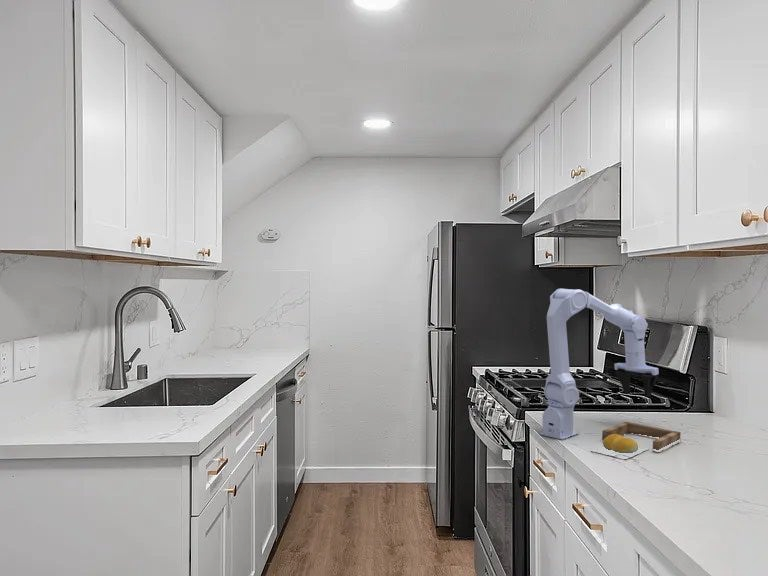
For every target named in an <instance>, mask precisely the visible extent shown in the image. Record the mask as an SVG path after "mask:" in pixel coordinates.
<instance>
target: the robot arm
mask: <svg viewBox="0 0 768 576" xmlns="http://www.w3.org/2000/svg"><path fill="white" fill-rule="evenodd" d="M549 303H550V304H549V307H548V310H547V314H546V326H547V340H548V341H547V342H548V352H549V365H550V374H549V375H548V376H547V377H545V386H544V388H543V389H544V390H543V391H544V396H545V398H546V399H547V403H548V406H547V408H546V409H545V410H543V413H542V430H541V431H540V432H539V435H542V436H545V437H550V438H554V439H559V440H562V441H564V440H566V439H568V437H569V438H571V437H570V436H572V437H574V436H573V435H575V436H577V435H579V434H580V433H579V432H577V431H574V408H575V405H576V404H577V403H578V401H579V399H580V392H579V389H578V387H577V385H576V380H575V378H574V377H573V376H572V374H571V370H570V369H571V368H570V357H569V346H568V332H567V321H568V320H569V319H570V318H571V317H572V316H575V314H578V313H579V312H581V311H582V310H583V309H585V308H588V309H590V310H592V311H594V312H597V313H599V314H601V315H603V316H604V317H603V318H604V319H605V321H607V322H609V323H611V324H613V325H615V326H617V327H619V328H620V330H621V331H622V332H623V336H624V337H623V338H624V352H625V362H617V363H614V370H616V371H615V372H614V373H615V375H616V377H617V379H618V381H619V382H620V385H621V387H622V390H623V393H624V394H628V393H631V375H632V372H633V373H641V374H642V375H640V377H641V380H642V384H643V390H644V397H645V398H649V397H652V392H653V388H654V385H655V383H656V380H657V379H658V377H659V367H654V366H651V365H647V364H646V350H645V337H646V331H647V329H648V324H649V323H648V322H647V321H646V319H645V317H644V316H643V315H642V314H641V315H640V314H634V311H633V310H631V309H629V310H627V309H625V308H624V307H622V306H623V305H622V304H620V303H612V304H610V305H609V304H608V303H606V302H605V301H603V300H601V299H599V298H597V297H596V296H594V295H592V294H590V292H588V291H584V290H582V289H577V288H576V289H573V288H572V289H570V288H569V289H568V288H561V287H560V288H557V289H556V290H555V291H554V292H552V294H551V295H550V296H549ZM576 434H577V435H576ZM565 438H566V439H565Z"/></svg>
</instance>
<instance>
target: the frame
mask: <svg viewBox="0 0 768 576" xmlns="http://www.w3.org/2000/svg"><path fill="white" fill-rule="evenodd" d="M601 433H602V434H601V435H602V436H601V441H602V440H604V439H605V438H606V437H607V436H609V435H611V434H618V435H621V436H622V435H623V436H625V435H624V434H626V435H628V434H629V433H633V434H632V435H634V434H641V435H647V436H652V437H659V439H654V440H652V450H653V449H656V450H659V449H661V448H663V447H665V446H667V445H669V444H671V443H673V442H675V441H677V440H679V439H680V440H681V431H678V430H672V429H671V430H670V429H665V428H660V427H655V426H650V425H645V424H639V423H635V422H628V421H624V422H622V423H619V424H616V425H613V426H611V427H609V428H608V427H607V428H605V429H603V430H602V431H601ZM627 433H628V434H627Z"/></svg>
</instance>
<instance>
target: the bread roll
mask: <svg viewBox="0 0 768 576" xmlns="http://www.w3.org/2000/svg"><path fill="white" fill-rule="evenodd" d="M602 446H604V447H605V448H606V449H608V450H613V451H615V452H619V453H633V452H636V451H637V450H638V446H639V445H638V443H637V441H635V440H634V439H632V438H630V437H624V435H623V436H621V435H618V434H611V435H609V436H607V437H606V438H605V439H604V440H603V441H602Z"/></svg>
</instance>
